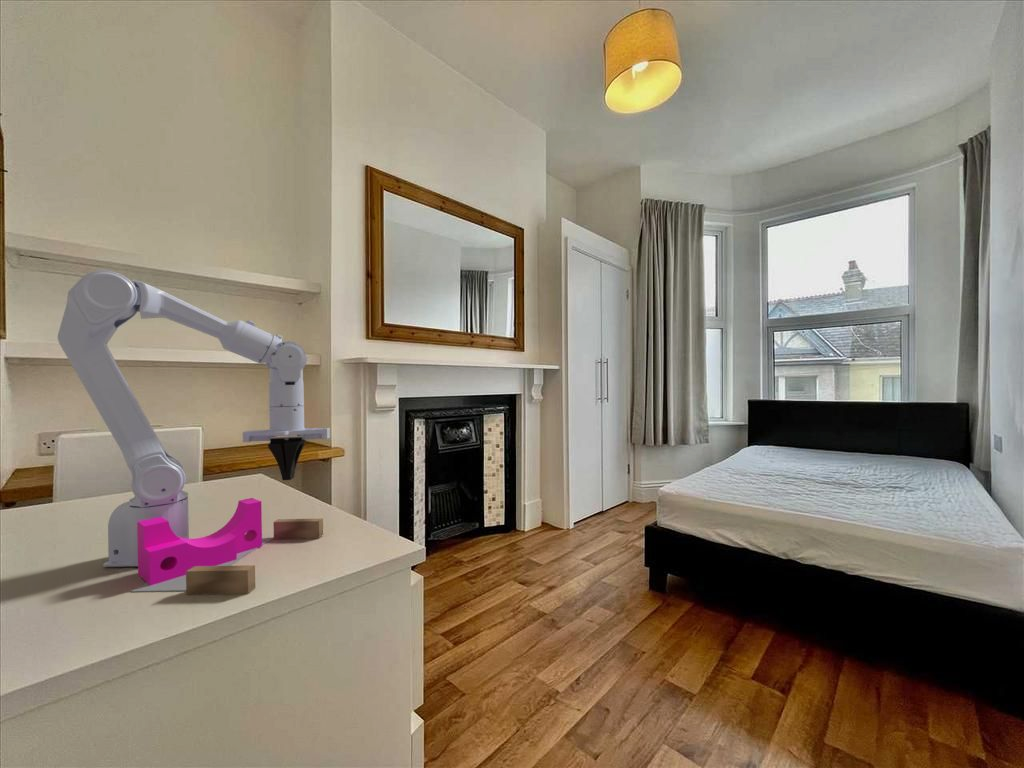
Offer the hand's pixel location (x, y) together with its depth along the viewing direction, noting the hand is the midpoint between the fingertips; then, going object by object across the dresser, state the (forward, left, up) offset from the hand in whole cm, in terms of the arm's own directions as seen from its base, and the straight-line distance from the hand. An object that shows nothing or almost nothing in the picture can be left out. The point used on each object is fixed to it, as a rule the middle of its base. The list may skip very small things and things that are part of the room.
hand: (288, 479), depth 79 cm
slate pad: (-4, -14, -9) cm, 17 cm away
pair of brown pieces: (+4, -14, -9) cm, 17 cm away
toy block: (-5, -14, -10) cm, 18 cm away
